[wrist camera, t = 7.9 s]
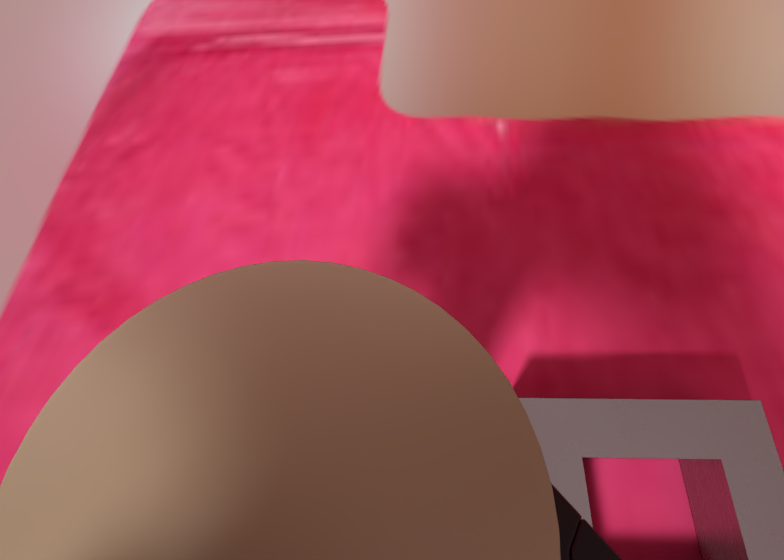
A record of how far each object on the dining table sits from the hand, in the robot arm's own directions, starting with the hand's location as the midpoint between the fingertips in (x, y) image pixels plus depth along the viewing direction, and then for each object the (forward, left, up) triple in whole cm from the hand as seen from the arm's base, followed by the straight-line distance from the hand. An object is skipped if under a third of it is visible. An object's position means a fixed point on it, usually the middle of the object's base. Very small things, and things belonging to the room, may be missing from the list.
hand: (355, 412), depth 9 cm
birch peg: (-1, 0, -7) cm, 7 cm away
